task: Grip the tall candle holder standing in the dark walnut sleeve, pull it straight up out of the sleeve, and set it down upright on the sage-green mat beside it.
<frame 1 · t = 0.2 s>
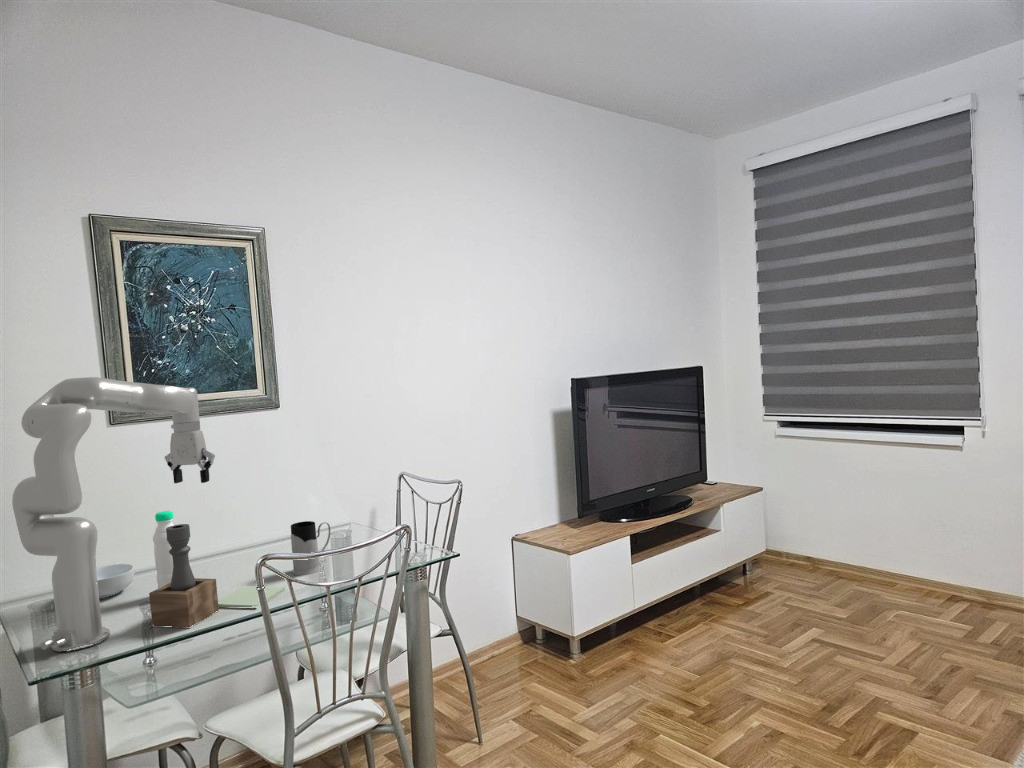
hand: (191, 482, 217), 31 cm above the table, tool pointing down, fingers open, 9 cm apart
sage mat: (249, 598, 199), on the table
water bottle: (171, 595, 207), on the table
walnut sleeve: (186, 618, 187), on the table
candle holder: (186, 619, 187), resting in walnut sleeve
gray black mug: (314, 568, 224), on the table
cereal bowl: (105, 595, 212), on the table
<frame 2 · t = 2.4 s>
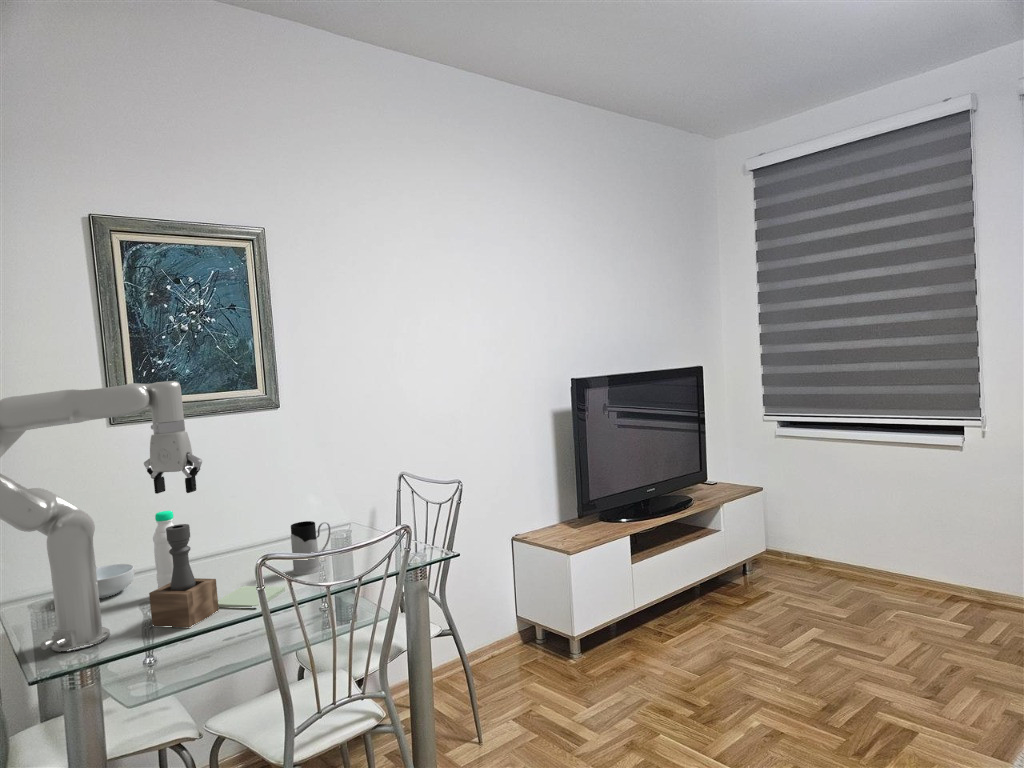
hand: (175, 492, 185), 34 cm above the table, tool pointing down, fingers open, 9 cm apart
nothing on the table moved.
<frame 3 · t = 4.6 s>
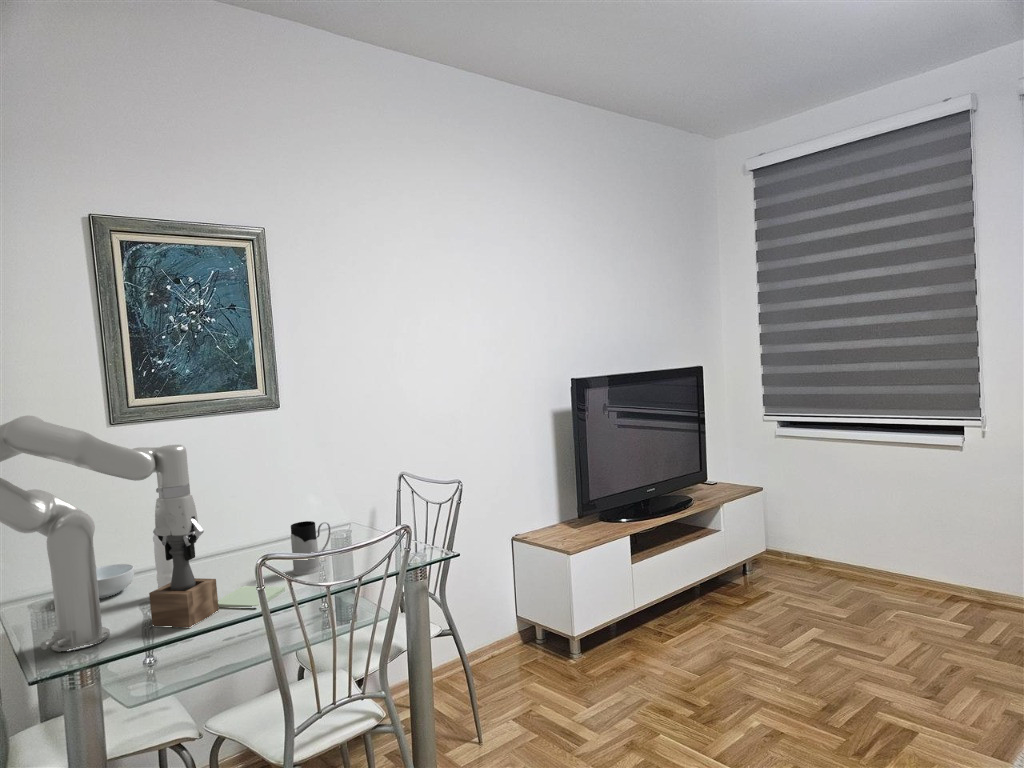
hand: (180, 558, 186), 16 cm above the table, tool pointing down, fingers closed on candle holder, 5 cm apart
candle holder: (186, 619, 187), resting in walnut sleeve, touching gripper
everything else where it was.
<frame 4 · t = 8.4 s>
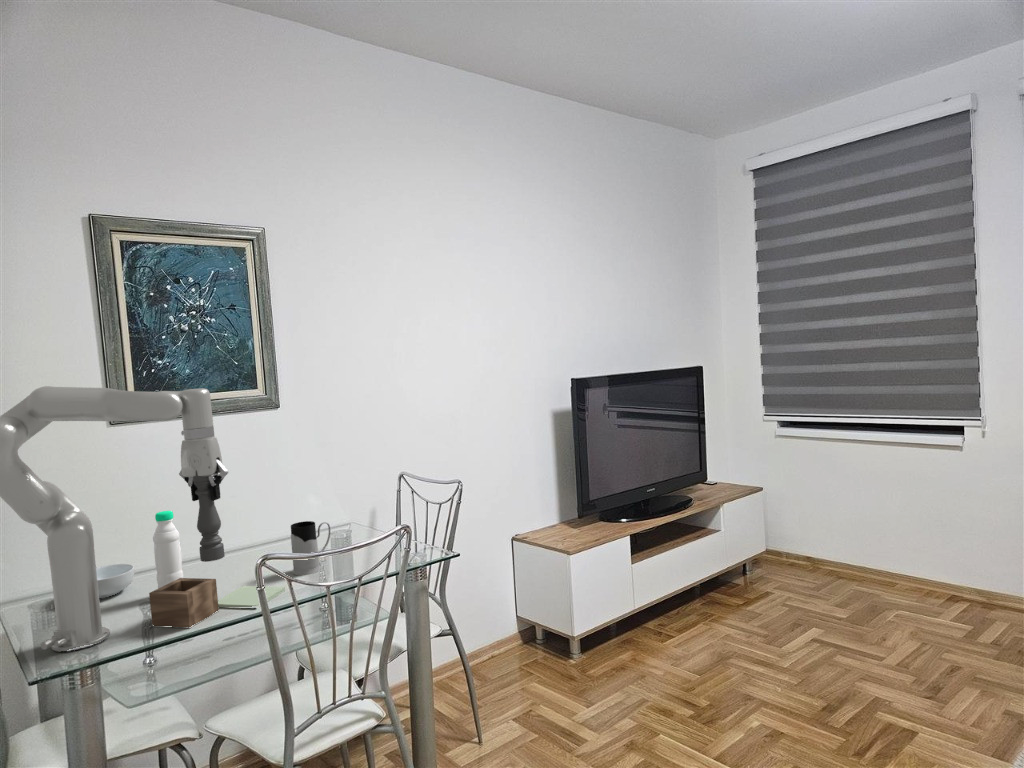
hand: (206, 499, 191), 31 cm above the table, tool pointing down, fingers closed on candle holder, 5 cm apart
candle holder: (212, 558, 192), point 14 cm above the table, touching gripper
everything else where it was.
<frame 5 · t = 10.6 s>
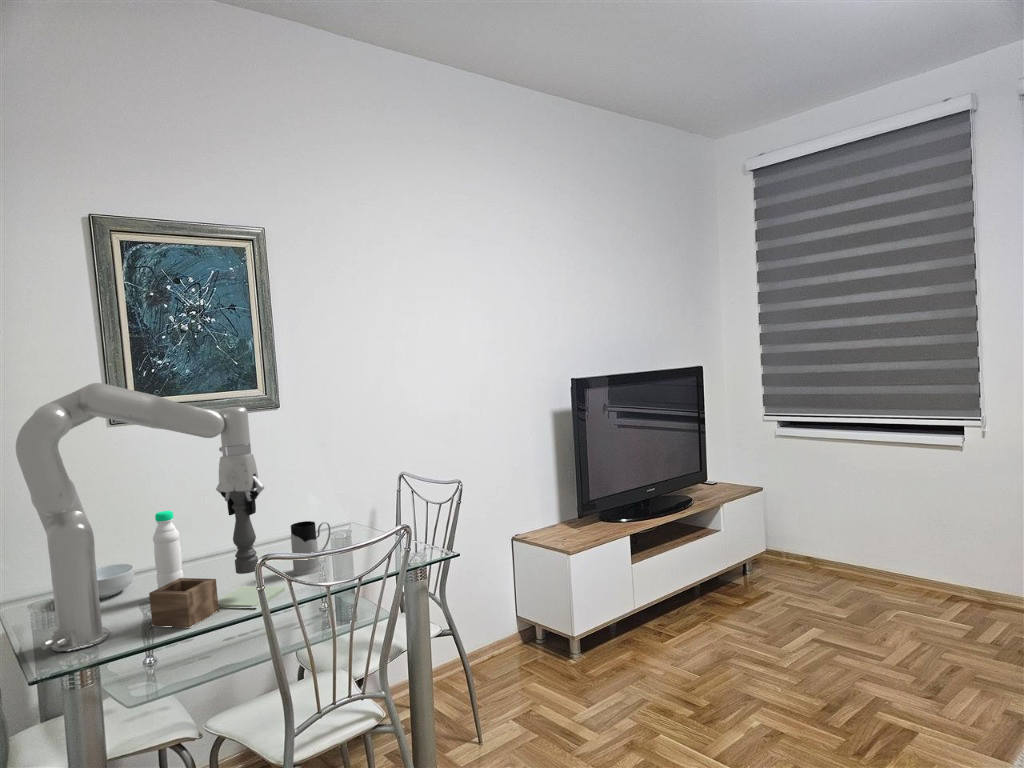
hand: (242, 513, 198), 25 cm above the table, tool pointing down, fingers closed on candle holder, 5 cm apart
candle holder: (247, 570, 199), point 8 cm above the table, touching gripper
everything else where it was.
when the fingers open (18 cm above the table, at t = 12.4 s): candle holder stays where it is, resting on sage mat.
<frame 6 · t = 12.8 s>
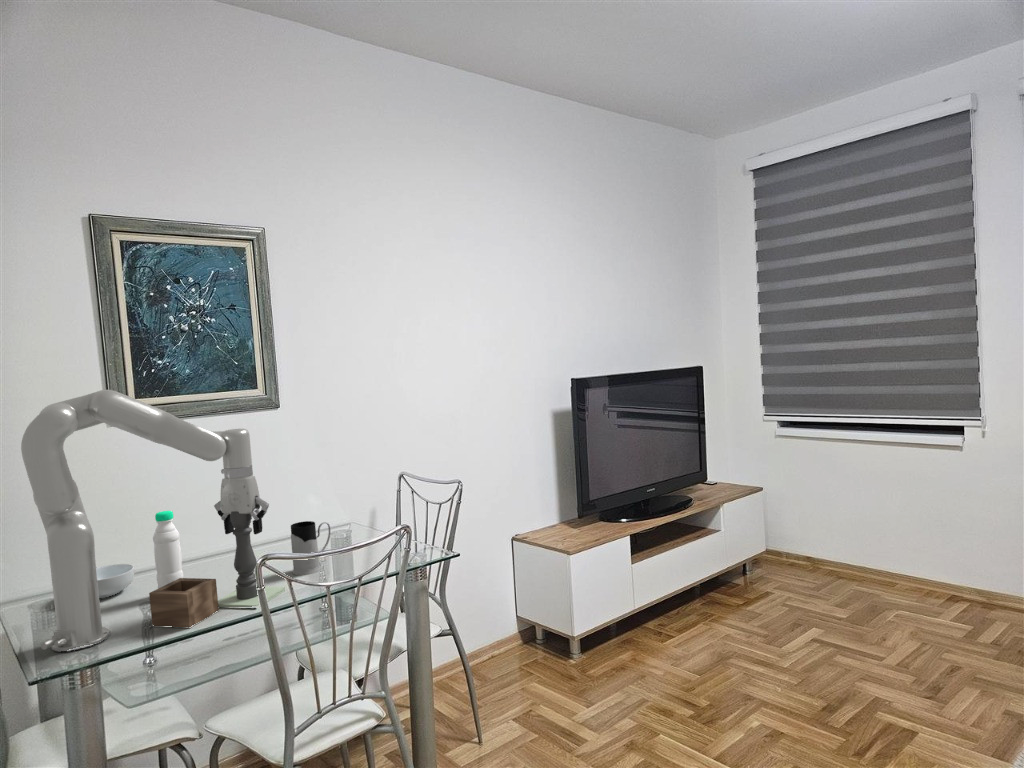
hand: (243, 532, 198), 19 cm above the table, tool pointing down, fingers open, 8 cm apart
candle holder: (248, 596, 199), point 1 cm above the table, touching sage mat
everything else where it was.
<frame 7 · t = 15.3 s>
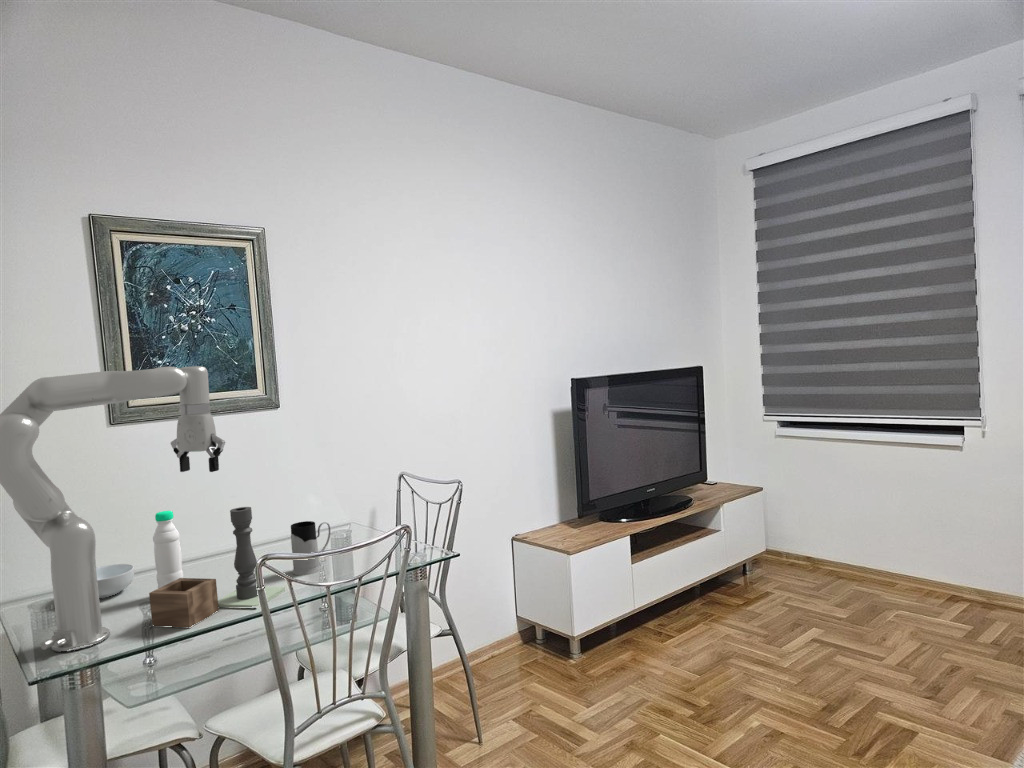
hand: (199, 471, 196), 38 cm above the table, tool pointing down, fingers open, 9 cm apart
nothing on the table moved.
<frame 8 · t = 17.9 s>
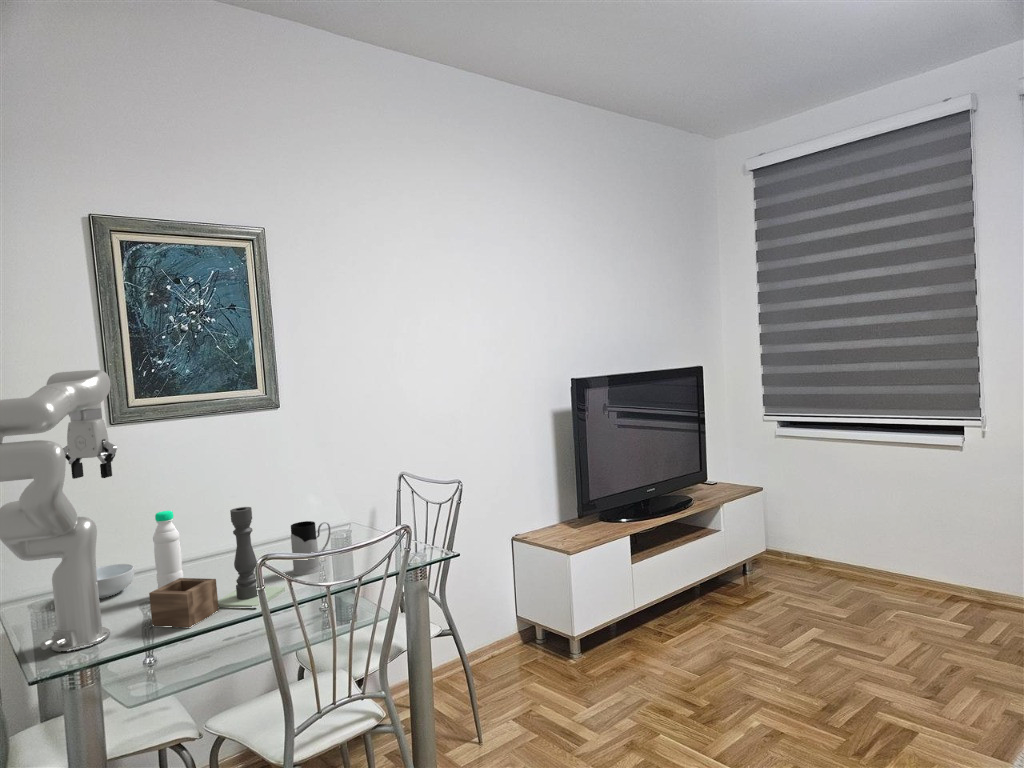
hand: (92, 477, 194), 38 cm above the table, tool pointing down, fingers open, 9 cm apart
nothing on the table moved.
at the end: candle holder inside the target area on the sage mat (0.3 cm from its centre), point 0.8 cm above the sage mat's base; candle holder tilted 0°; the gripper is holding nothing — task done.
